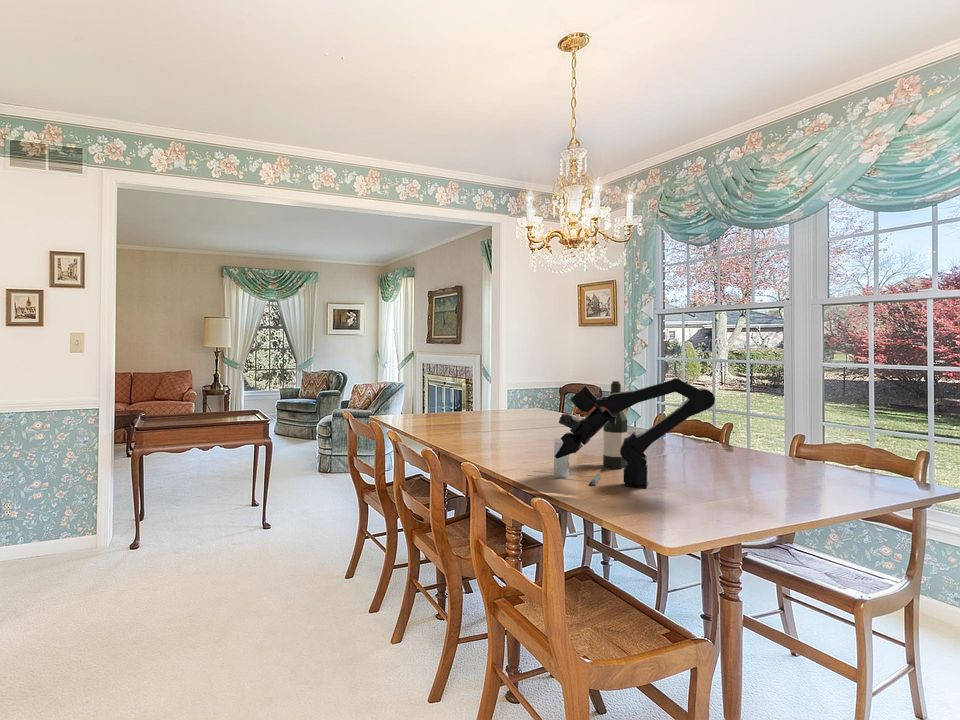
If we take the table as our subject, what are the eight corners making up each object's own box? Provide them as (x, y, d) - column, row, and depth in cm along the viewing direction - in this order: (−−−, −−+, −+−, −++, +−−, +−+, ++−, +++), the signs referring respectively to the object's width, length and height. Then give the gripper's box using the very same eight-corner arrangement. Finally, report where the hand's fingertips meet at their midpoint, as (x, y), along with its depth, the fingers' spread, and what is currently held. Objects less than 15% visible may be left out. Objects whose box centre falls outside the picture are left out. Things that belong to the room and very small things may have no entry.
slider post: (569, 475, 179) (570, 438, 178) (566, 478, 175) (567, 440, 174) (556, 473, 180) (556, 437, 180) (553, 476, 176) (553, 439, 176)
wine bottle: (598, 464, 199) (599, 380, 198) (618, 463, 201) (619, 380, 200) (610, 469, 191) (611, 382, 190) (631, 468, 193) (632, 381, 192)
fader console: (600, 478, 177) (600, 473, 177) (595, 485, 169) (595, 479, 169) (530, 472, 186) (530, 467, 186) (522, 478, 178) (522, 472, 177)
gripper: (580, 401, 184) (547, 433, 188) (568, 407, 167) (532, 441, 171) (604, 427, 181) (570, 458, 186) (594, 435, 164) (557, 469, 168)
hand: (557, 456), depth 178 cm, fingers closed on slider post, 4 cm apart
